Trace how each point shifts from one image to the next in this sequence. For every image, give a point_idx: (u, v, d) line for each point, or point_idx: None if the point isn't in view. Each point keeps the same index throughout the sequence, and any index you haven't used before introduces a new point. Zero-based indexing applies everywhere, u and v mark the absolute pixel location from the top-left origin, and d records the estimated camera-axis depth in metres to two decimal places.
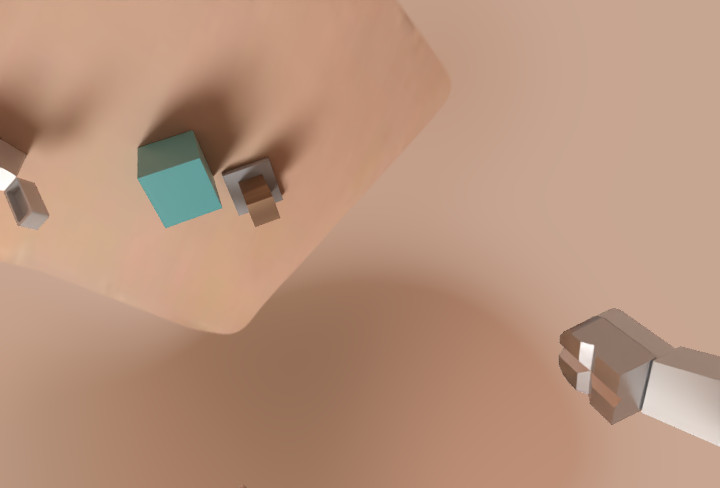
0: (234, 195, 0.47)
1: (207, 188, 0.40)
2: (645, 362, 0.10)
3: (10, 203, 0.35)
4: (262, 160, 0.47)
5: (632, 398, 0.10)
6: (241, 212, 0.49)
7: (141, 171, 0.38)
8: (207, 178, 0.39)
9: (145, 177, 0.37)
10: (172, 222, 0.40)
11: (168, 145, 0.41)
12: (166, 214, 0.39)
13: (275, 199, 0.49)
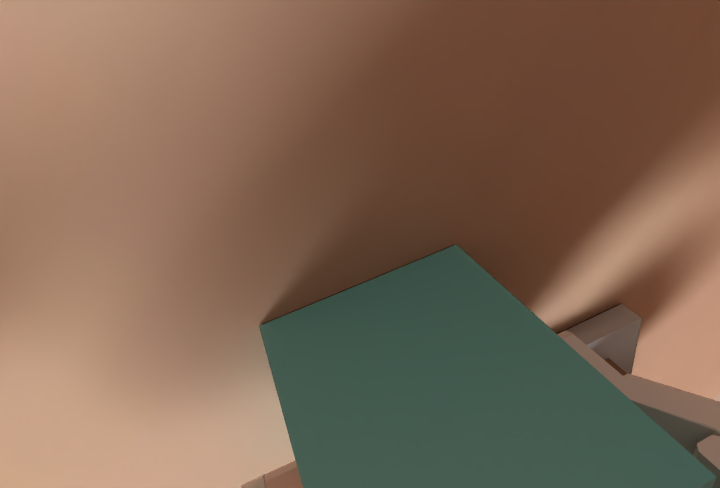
0: None
1: None
2: None
3: None
4: (613, 316, 0.15)
5: None
6: None
7: None
8: None
9: None
10: None
11: (402, 326, 0.09)
12: None
13: None
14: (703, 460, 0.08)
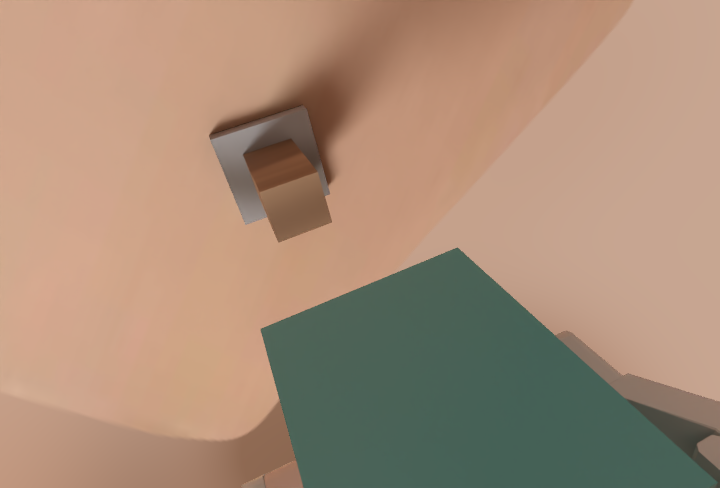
0: (236, 182, 0.23)
1: None
2: None
3: None
4: (292, 110, 0.23)
5: None
6: (250, 218, 0.25)
7: None
8: None
9: None
10: None
11: (403, 330, 0.09)
12: None
13: None
14: (703, 460, 0.08)
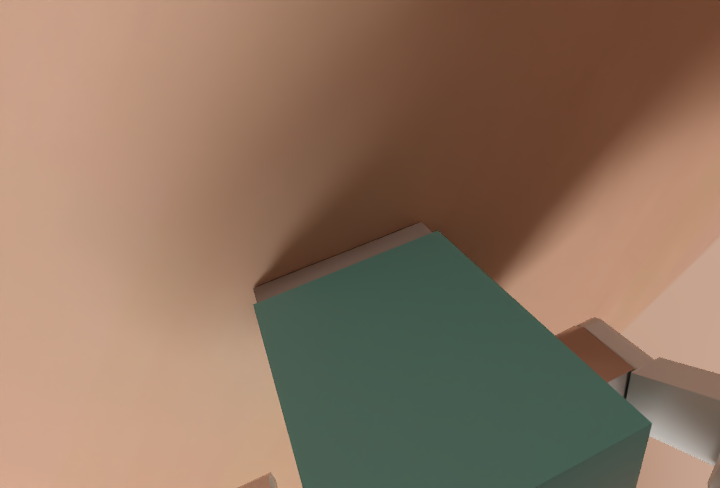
0: None
1: None
2: (623, 373, 0.09)
3: None
4: (405, 235, 0.12)
5: None
6: None
7: None
8: None
9: None
10: None
11: (384, 303, 0.10)
12: None
13: None
14: None
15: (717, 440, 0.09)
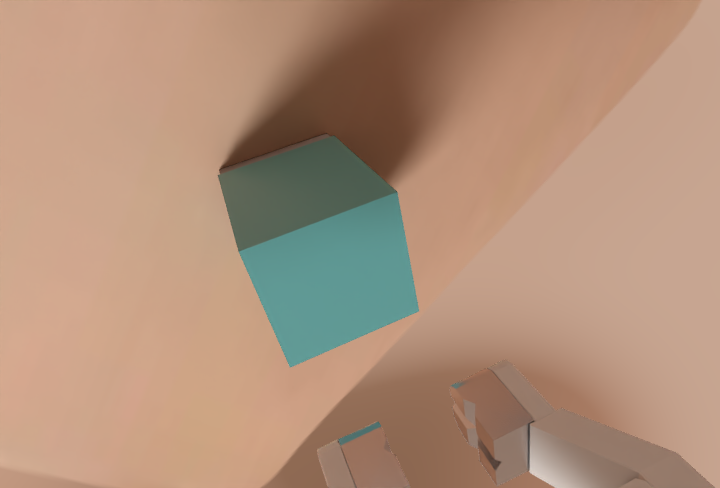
0: None
1: (398, 268, 0.16)
2: (523, 425, 0.09)
3: None
4: (315, 139, 0.20)
5: (515, 460, 0.09)
6: None
7: (244, 230, 0.14)
8: (403, 243, 0.15)
9: (259, 247, 0.13)
10: (307, 353, 0.16)
11: (291, 167, 0.18)
12: (297, 336, 0.16)
13: None
14: None
15: None
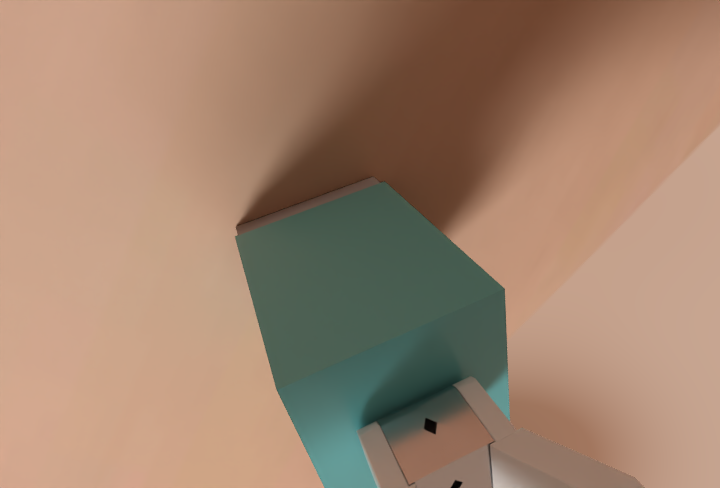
0: None
1: (492, 382, 0.11)
2: (483, 445, 0.09)
3: None
4: (359, 186, 0.15)
5: (477, 480, 0.09)
6: None
7: (281, 345, 0.10)
8: (503, 352, 0.11)
9: (306, 380, 0.09)
10: None
11: (335, 231, 0.13)
12: (351, 480, 0.11)
13: None
14: None
15: None
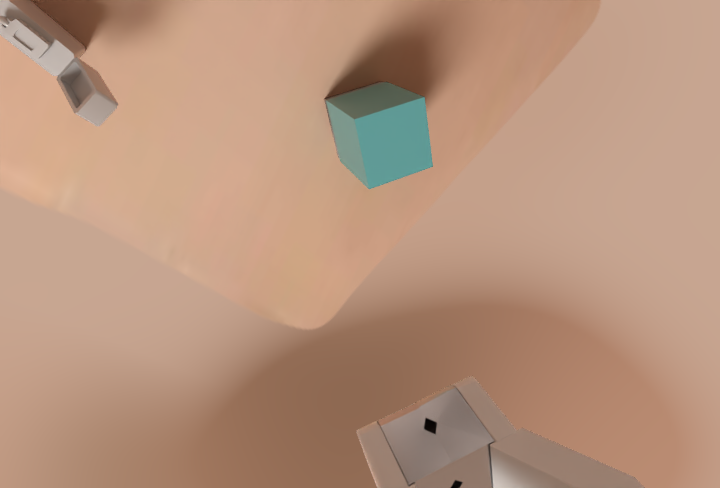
0: None
1: (423, 138, 0.32)
2: (483, 446, 0.09)
3: (65, 89, 0.25)
4: (375, 84, 0.36)
5: (477, 480, 0.09)
6: None
7: (353, 114, 0.31)
8: (426, 125, 0.32)
9: (362, 118, 0.30)
10: (377, 182, 0.32)
11: (367, 94, 0.34)
12: (374, 170, 0.32)
13: None
14: None
15: None
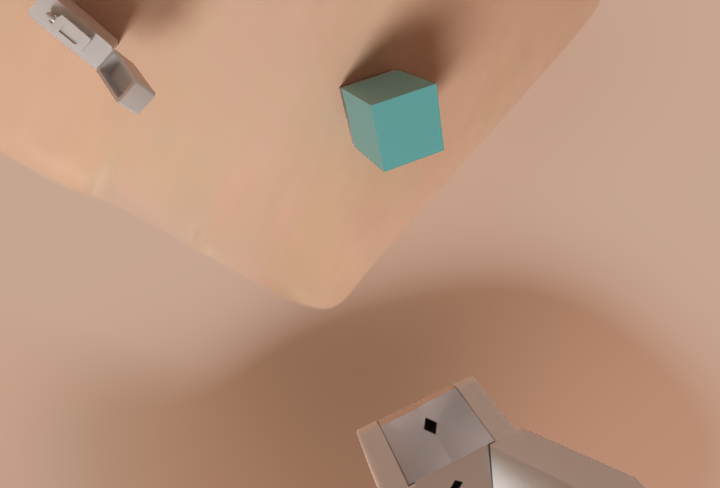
0: None
1: (435, 123, 0.34)
2: (483, 445, 0.09)
3: (105, 80, 0.27)
4: (387, 72, 0.38)
5: (477, 480, 0.09)
6: None
7: (369, 100, 0.33)
8: (438, 110, 0.34)
9: (378, 104, 0.32)
10: (392, 165, 0.34)
11: (380, 82, 0.36)
12: (389, 154, 0.34)
13: None
14: None
15: None
